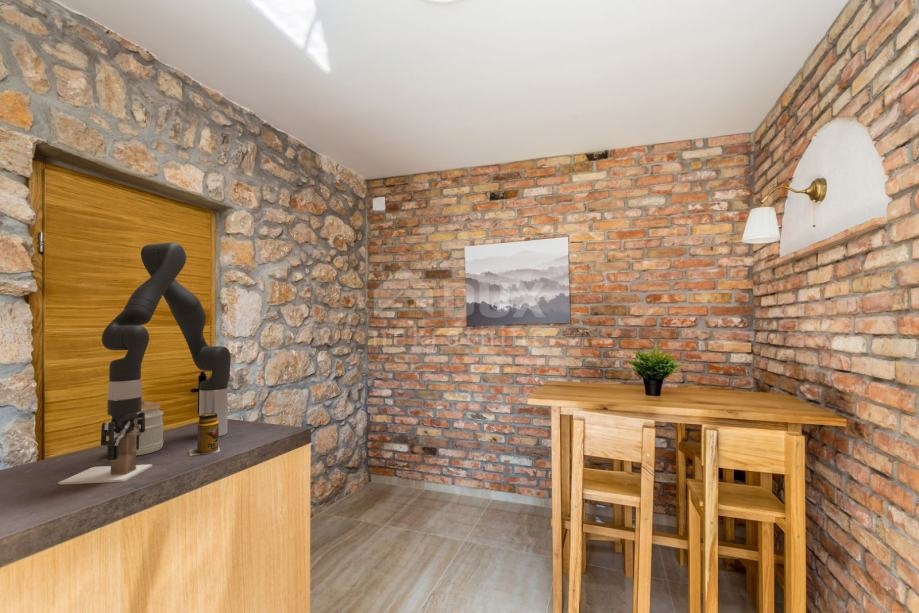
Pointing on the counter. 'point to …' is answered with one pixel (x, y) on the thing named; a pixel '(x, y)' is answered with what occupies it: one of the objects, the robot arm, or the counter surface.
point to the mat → (102, 475)
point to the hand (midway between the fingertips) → (123, 454)
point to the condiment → (207, 435)
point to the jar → (151, 428)
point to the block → (125, 454)
